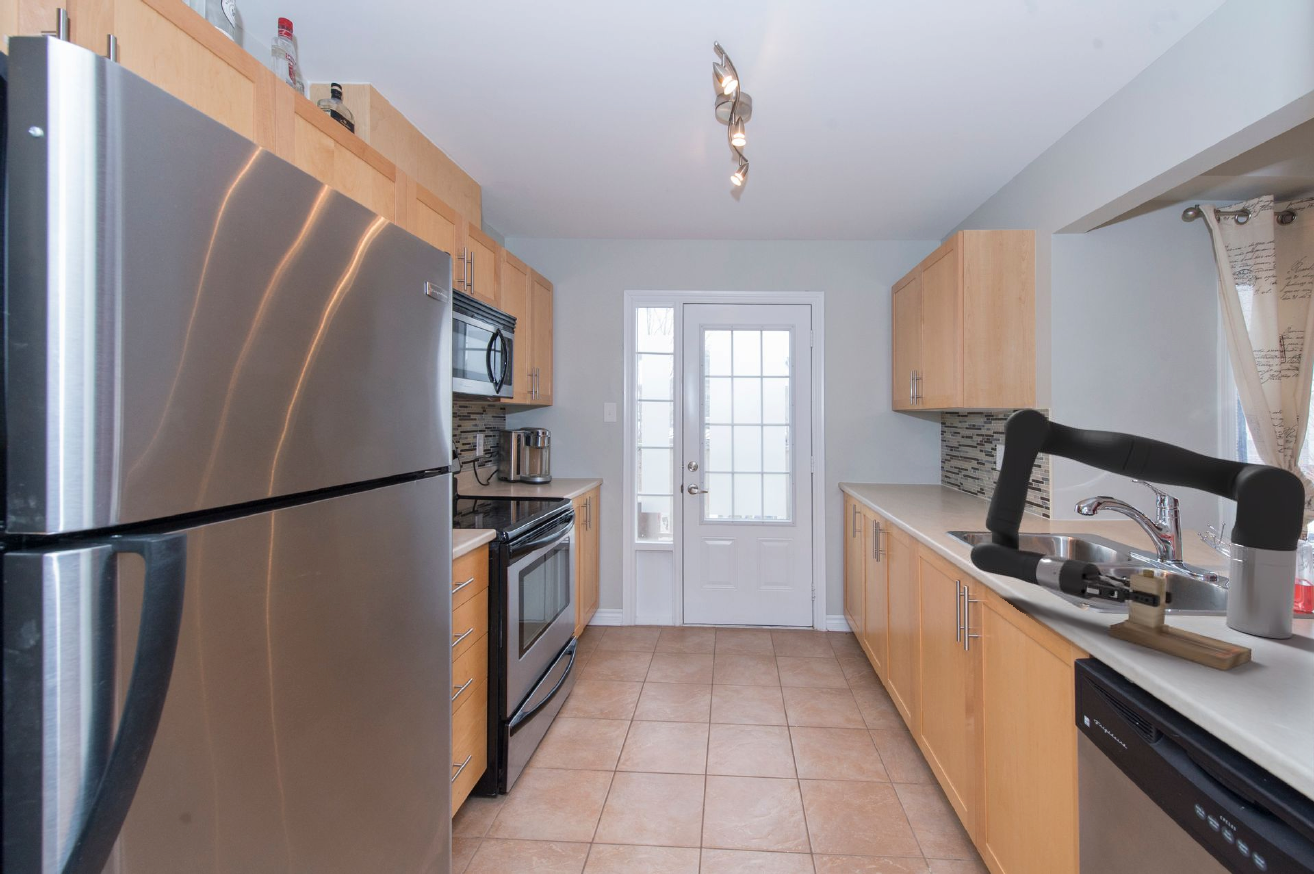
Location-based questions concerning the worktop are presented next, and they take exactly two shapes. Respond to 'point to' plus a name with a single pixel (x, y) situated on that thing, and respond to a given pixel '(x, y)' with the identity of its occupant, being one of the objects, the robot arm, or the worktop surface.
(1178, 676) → the worktop surface
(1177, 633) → the plank
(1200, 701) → the worktop surface
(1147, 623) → the pale wood tall block
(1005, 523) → the robot arm
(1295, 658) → the worktop surface
